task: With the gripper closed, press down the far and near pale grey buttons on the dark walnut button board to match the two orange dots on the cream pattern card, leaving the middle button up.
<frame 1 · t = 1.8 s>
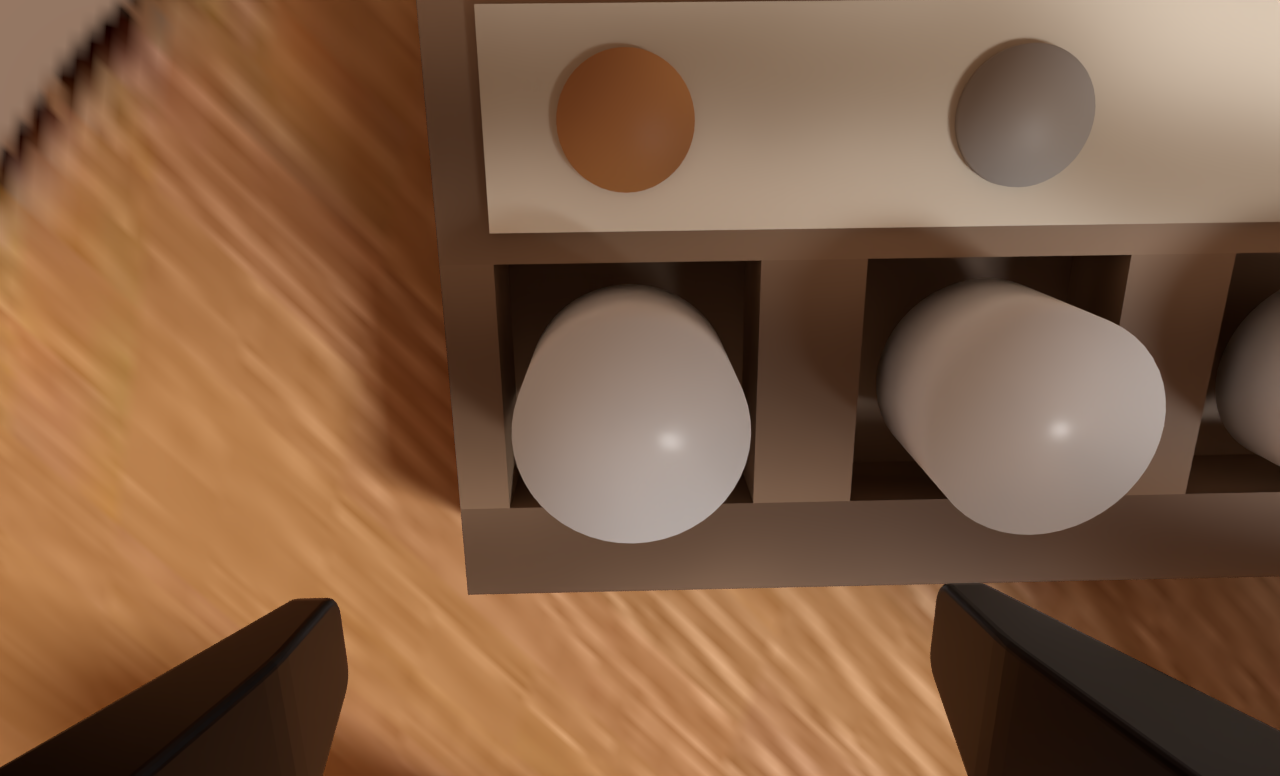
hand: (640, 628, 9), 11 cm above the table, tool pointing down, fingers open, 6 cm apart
button board: (936, 279, 19), on the table
button middle: (1007, 399, 15), point 4 cm above the table, slide at 0.0 cm
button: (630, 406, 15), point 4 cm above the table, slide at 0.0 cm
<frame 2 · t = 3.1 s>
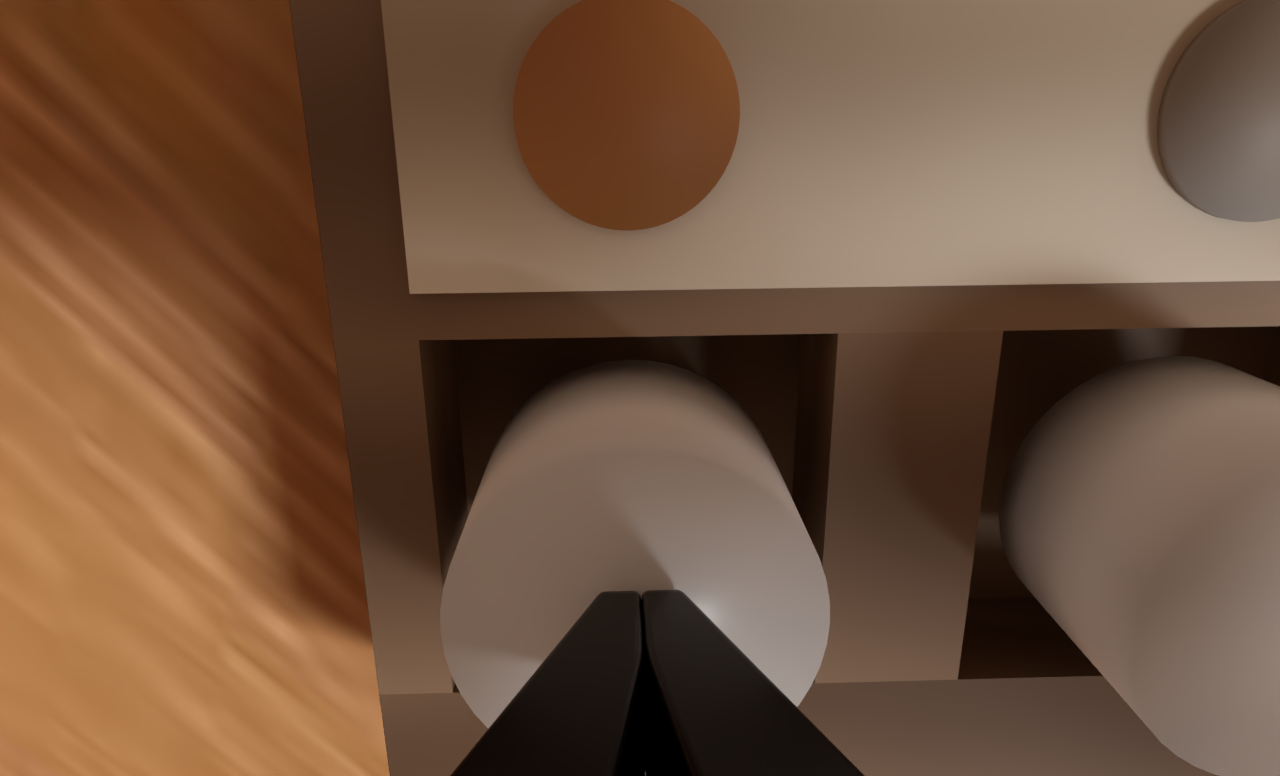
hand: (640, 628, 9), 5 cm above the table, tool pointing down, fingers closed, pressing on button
button board: (1067, 342, 13), on the table
button middle: (1221, 552, 10), point 4 cm above the table, slide at 0.0 cm
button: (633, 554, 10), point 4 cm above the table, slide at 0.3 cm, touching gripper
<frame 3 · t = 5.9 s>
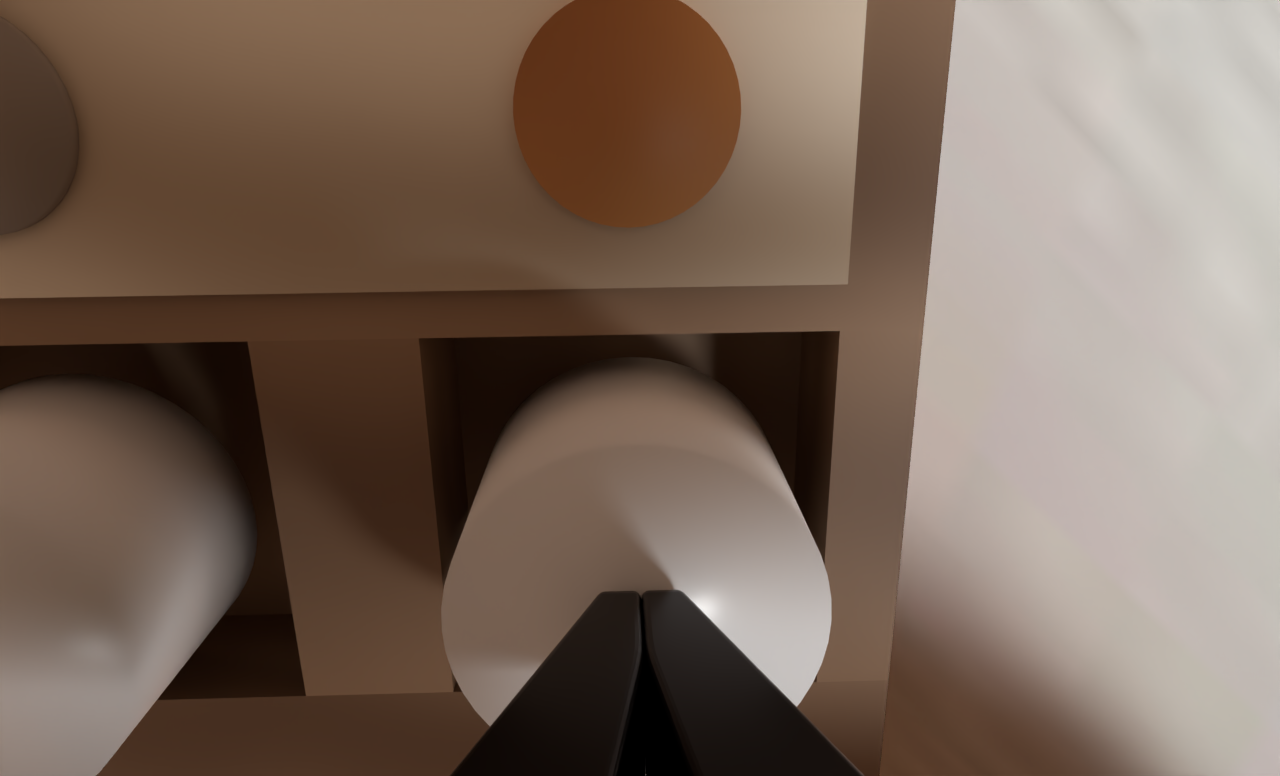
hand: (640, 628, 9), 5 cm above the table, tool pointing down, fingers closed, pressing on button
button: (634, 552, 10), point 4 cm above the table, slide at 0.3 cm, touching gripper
button board: (176, 356, 13), on the table
button middle: (25, 578, 9), point 4 cm above the table, slide at 0.0 cm
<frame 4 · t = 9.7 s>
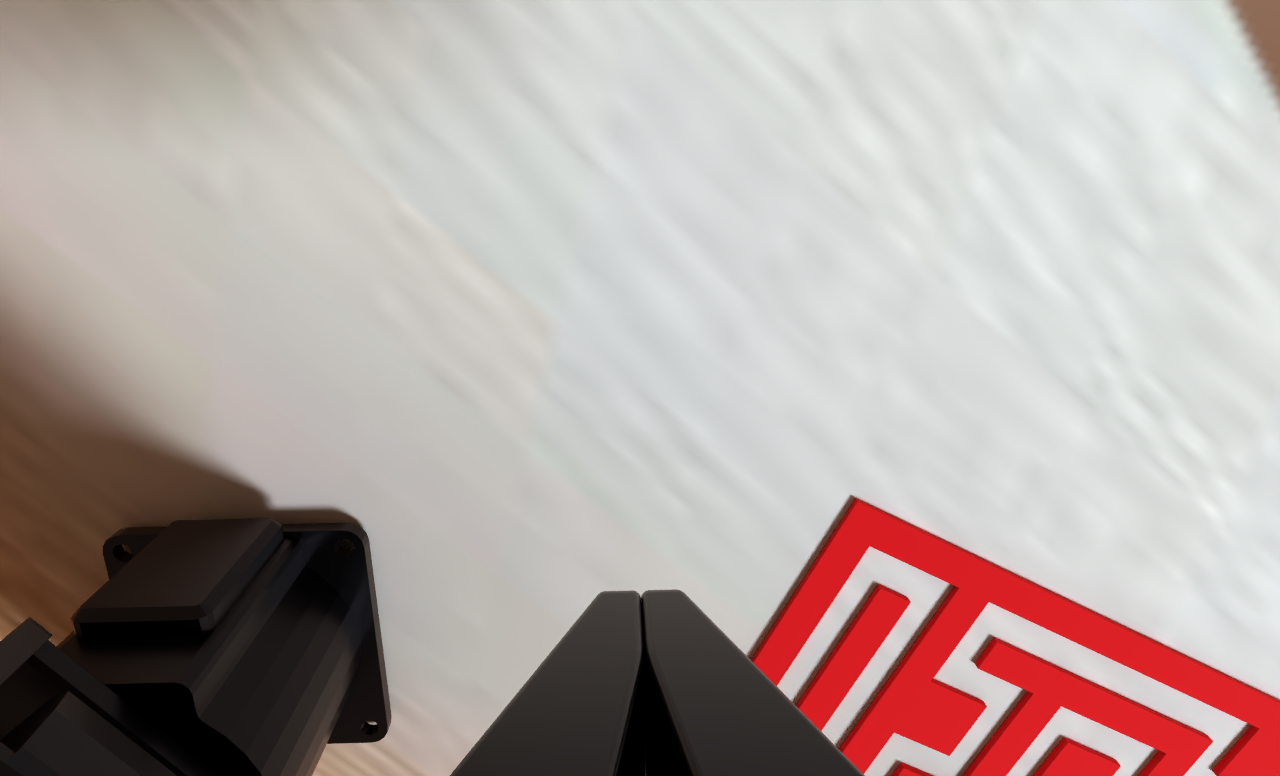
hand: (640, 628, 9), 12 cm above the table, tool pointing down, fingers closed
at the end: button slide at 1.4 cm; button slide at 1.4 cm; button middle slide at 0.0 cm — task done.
